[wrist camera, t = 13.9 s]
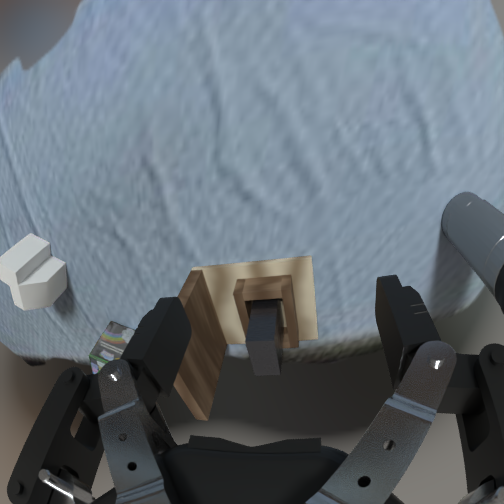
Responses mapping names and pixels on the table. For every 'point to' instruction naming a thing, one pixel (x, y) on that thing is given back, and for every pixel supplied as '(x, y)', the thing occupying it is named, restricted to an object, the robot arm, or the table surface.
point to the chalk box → (110, 345)
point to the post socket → (238, 317)
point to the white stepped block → (33, 273)
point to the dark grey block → (265, 336)
